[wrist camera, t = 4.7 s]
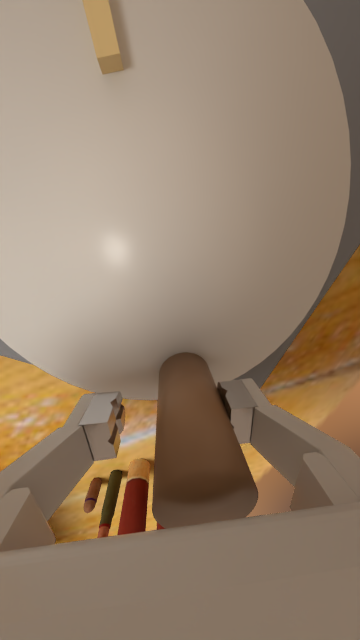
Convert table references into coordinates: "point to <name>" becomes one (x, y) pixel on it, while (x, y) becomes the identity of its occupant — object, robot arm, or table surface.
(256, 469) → the table surface
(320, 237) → the dial
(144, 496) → the ammunition
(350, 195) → the dial plate
